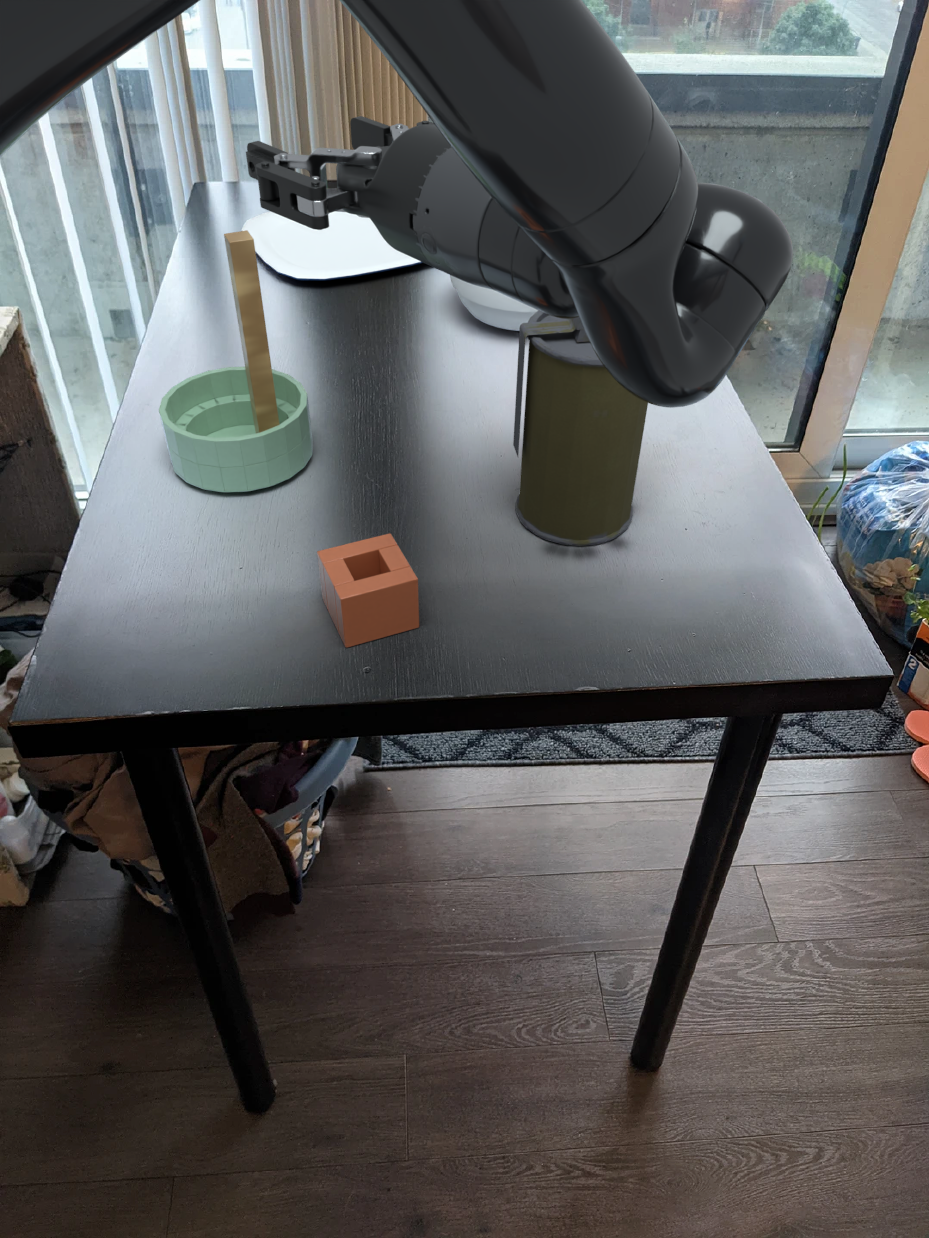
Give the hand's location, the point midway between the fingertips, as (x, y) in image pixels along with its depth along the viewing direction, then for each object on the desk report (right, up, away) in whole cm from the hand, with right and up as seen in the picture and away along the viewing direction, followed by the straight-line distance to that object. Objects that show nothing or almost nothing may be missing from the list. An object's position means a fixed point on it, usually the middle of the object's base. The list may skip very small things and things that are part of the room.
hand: (305, 145), depth 65 cm
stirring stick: (-8, -16, +26) cm, 31 cm away
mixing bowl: (-10, -17, +26) cm, 32 cm away
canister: (+20, -23, +20) cm, 37 cm away
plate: (-5, +18, +64) cm, 66 cm away
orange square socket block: (+3, -32, +10) cm, 34 cm away
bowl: (+18, +4, +49) cm, 52 cm away
